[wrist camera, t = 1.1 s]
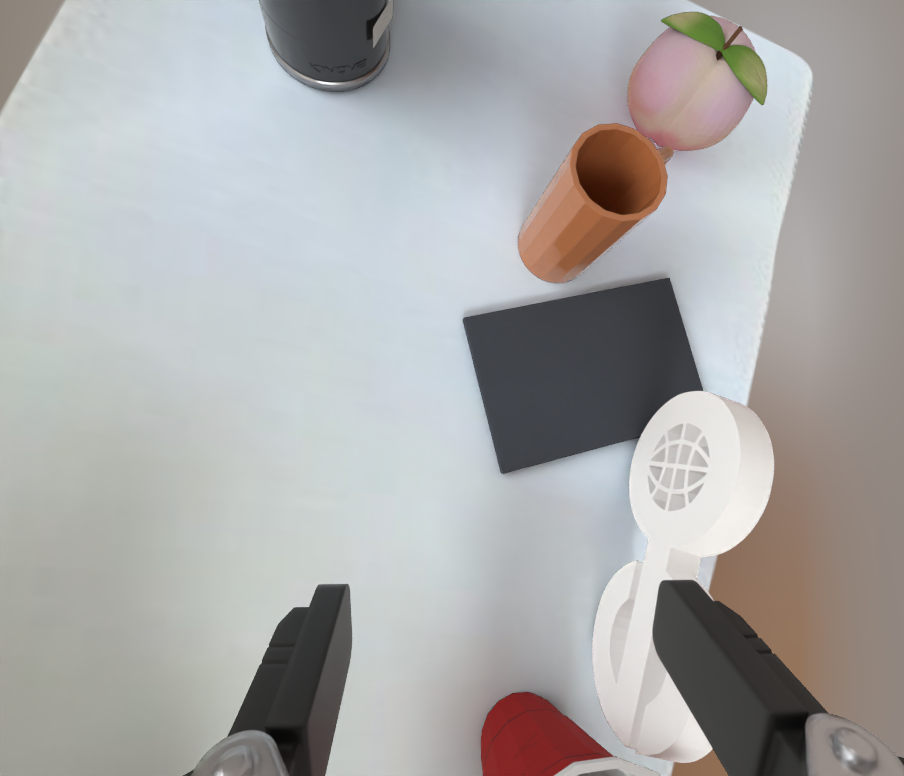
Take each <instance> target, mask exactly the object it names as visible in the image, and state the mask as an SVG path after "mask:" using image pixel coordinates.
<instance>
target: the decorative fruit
mask: <svg viewBox="0 0 904 776" xmlns="http://www.w3.org/2000/svg"><path fill="white" fill-rule="evenodd" d="M661 21H662V22H663V23H664V24H666V25H668V26H670V28H668V29H667V30H666V31H664V32H663V33H662V34H661V35H660V36H659V37H658V38H657V39H656V40H655V41H654V42H653V43H652V44H651V45H650V46H649V48H648V49H647V50H646V51H645V53H644V54H643V55H642V57H641V58H640V59H639V61H638V62H637V64H636V66H635V67H634V69H633V71H632V74H631V76H630V79H629V84H628V90H627V100H628V107H629V111H630V114H631V117H632V119H633V121H634V124H635V126H636V128H637V129H638V130H639V132H640V133H641V134H642V135H644V136H645V137H648V138H651V139H653V140H654V141H655V142H656V144H657V145H658V146H660V147H665V146H670V147H672V149H673V150H678V151H691V150H699V149H704V148H707V147H710V146H712V145H715V144H716V143H718V142H720V141H721V140H723V139H724V138H725V137H727V136H728V135H729V134H730V133H731V132H732V131H733V130H734V128H735V127H736V126H737V125H738V124H739V122H740V121H741V119H742V118H743V117H744V115H745V113H746V112H747V110H748V108H749V107H750V104H751V102H752V100H753V98H755V99H756V100H757V101H758V102H759V103H760V104H761V105H764V102H765V98H766V94H767V76H766V70H765V66H764V64H763V62H762V60H761V58H760V57H759V56H758V55H757V54H756V52H755V49H754V47H753V45H752V43H751V41H750V39H749V38H748V36H747V35H746V34H745V33H744V32H743V29H742V27H741V26H739V27H738V26H737V25H735V24H734V23H732V22H730V21H728V20H726V19H723V18H720V17H715V16H708V15H706V14H704V13H700V12H683V13H678V14H674V15H671V16H668V17H666V18H664V19H662V20H661Z"/></svg>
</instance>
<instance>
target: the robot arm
mask: <svg viewBox="0 0 904 776" xmlns="http://www.w3.org/2000/svg"><path fill="white" fill-rule="evenodd" d="M259 3H260V7H261V10H262V14H263V18H264V21H265V27H266V34H267V37H268V41H269V45H270V48H271V50H272V53H273V55H274V57H275V58H276V60H277V61H278V63H279V64H280V65H281V67H282V68H283V69H284V70H285V71H286V72H287V73H289V74H290V75H291V76H292V77H294V78H295V79H297V80H298V81H300V82H302V83H304V84H306V85H308V86H310V87H313V88H316V89H320V90H325V91H347V90H352V89H356V88H359V87H361V86H363V85H365V84H367V83H369V82H370V81H371V80H373V79H374V78H375V77H376V76H377V75H378V74H379V73H380V72H381V70H382V69H383V67H384V66H385V64H386V61H387V58H388V55H389V43H390V34H389V27H388V26H389V22H390V21H391V19H392V17H393V0H390V1H389V0H259ZM652 636H653V642H654V646H655V650H656V652H657V655H658V657H659V659H660V660H661V662H662V664H663V665H664V667H665V669H666V670H667V672H668V674H669V675H670V677H671V679H672V681H673V682H674V684H675V686H676V687H677V689H678V691H679V692H680V694H681V696H682V697H683V699H684V701H685V703H686V704H687V706H688V708H689V709H690V711H691V713H692V714H693V716H694V718H695V719H696V721H697V723H698V725H699V726H700V728H701V730H702V731H703V733H704V735H705V736H706V738H707V740H708V741H709V743H710V745H711V747H712V748H713V750H714V751H715V753H716V755H717V757H718V758H719V760H720V762H721V763H722V765H723V767H724V768H725V770H726V772H727V774H728V775H729V776H904V758H902V757H898V756H896V754H895V753H894V752H893V751H892V750H891V749H890V748H889V747H888V746H887V745H886V744H885V743H884V742H883V741H882V740H880V739H879V738H878V737H876V736H875V735H874V734H872V733H871V732H869V731H868V730H866V729H865V728H863V727H861V726H860V725H858V724H856V723H854V722H852V721H850V720H848V719H845V718H843V717H840V716H836V715H833V714H829V713H828V712H827V711H826V710H825V709H824V708H823V707H822V706H821V704H820V703H819V702H818V701H817V700H816V699H815V698H814V697H813V696H812V695H811V693H810V692H809V691H808V690H807V689H806V688H805V687H804V686H803V685H802V684H801V682H800V681H799V680H798V679H797V678H796V677H795V676H794V675H793V674H792V672H791V671H790V670H789V669H788V668H787V667H786V666H785V665H784V664H783V663H782V661H781V660H780V659H779V658H778V657H777V656H776V655H775V654H772V652H771V649H770V648H769V647H768V646H767V645H766V644H765V643H764V641H763V640H762V639H761V638H758V636H757V634H756V633H755V631H754V630H753V629H752V628H751V627H750V626H749V625H748V624H747V623H746V621H745V620H744V619H743V618H742V617H741V616H740V615H738V614H737V613H735V612H734V611H732V610H731V609H729V608H728V607H727V606H725V605H724V604H722V603H721V602H719V601H713V600H712V599H711V598H710V597H709V595H708V594H707V593H706V592H705V591H704V590H703V589H702V587H701V586H700V585H699V584H698V583H697V582H696V581H694V580H663V581H661V583H660V585H659V589H658V595H657V602H656V608H655V615H654V621H653V628H652ZM351 649H352V622H351V603H350V588H349V585H348V584H320V585H318V586H317V588H316V590H315V593H314V596H313V598H312V601H311V604H310V606H309V607H296V608H293V609H292V610H291V611H290V612H289V613H288V614H287V615H286V617H285V618H284V619H283V620H282V621H281V622H280V623H279V624H278V626H277V628H276V630H275V632H274V634H273V637H272V639H271V641H270V643H269V648H267V650H266V652H265V655H264V657H263V659H262V664H260V666H259V668H258V670H257V672H256V675H255V677H254V679H253V681H252V684H251V686H250V688H249V690H248V693H247V695H246V697H245V699H244V702H243V704H242V706H241V708H240V710H239V713H238V715H237V717H236V719H235V722H234V724H233V726H232V728H231V730H230V732H229V734H228V736H227V738H225V739H223V740H222V741H220V742H219V743H217V744H216V745H215V746H214V747H212V748H211V749H210V750H209V751H208V752H207V753H206V754H205V755H204V756H203V758H202V759H201V760H200V762H199V763H198V764H197V766H196V768H195V769H194V770H193V771H191V772H189V773H187V774H185V775H183V776H325V774H326V769H327V765H328V760H329V755H330V751H331V746H332V742H333V737H334V733H335V728H336V723H337V719H338V714H339V710H340V705H341V700H342V696H343V691H344V687H345V682H346V677H347V673H348V668H349V663H350V658H351Z"/></svg>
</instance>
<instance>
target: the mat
mask: <svg viewBox="0 0 904 776" xmlns="http://www.w3.org/2000/svg"><path fill="white" fill-rule="evenodd" d="M463 323H464V327H465V331H466V335H467V339H468V343H469V347H470V351H471V355H472V359H473V363H474V367H475V371H476V375H477V379H478V383H479V387H480V391H481V395H482V399H483V403H484V407H485V411H486V415H487V419H488V423H489V427H490V431H491V435H492V439H493V443H494V447H495V451H496V455H497V459H498V463H499V467H500V471H501V473H503V474H504V473H508V472H511V471H515V470H519V469H522V468H526V467H530V466H533V465H537V464H541V463H545V462H548V461H552V460H556V459H559V458H563V457H567V456H571V455H574V454H578V453H582V452H585V451H589V450H593V449H597V448H600V447H604V446H608V445H611V444H615V443H619V442H623V441H626V440H630V439H634V438H637V437H641V434H642V433H643V431H644V429H645V427H646V426H647V424H648V423H649V421H650V420H651V418H652V417H653V416H654V415H655V413H656V412H657V411H658V410H659V409H660V408H661V407H662V406H663V405H664V404H665V403H667V402H668V401H669V400H671V399H672V398H674V397H676V396H677V395H679V394H682V393H686V392H691V391H703V388H702V385H701V382H700V378H699V375H698V372H697V368H696V365H695V362H694V358H693V355H692V352H691V348H690V345H689V342H688V338H687V335H686V332H685V328H684V325H683V322H682V318H681V315H680V312H679V308H678V305H677V302H676V298H675V295H674V292H673V288H672V285H671V281H670V278H666V279H660V280H655V281H650V282H645V283H640V284H635V285H630V286H625V287H619V288H614V289H609V290H604V291H599V292H594V293H589V294H584V295H578V296H573V297H568V298H563V299H558V300H553V301H548V302H543V303H537V304H532V305H527V306H522V307H517V308H512V309H507V310H502V311H496V312H491V313H486V314H481V315H476V316H471V317H466V318H464V319H463Z"/></svg>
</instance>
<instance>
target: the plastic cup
mask: <svg viewBox="0 0 904 776" xmlns="http://www.w3.org/2000/svg"><path fill="white" fill-rule="evenodd" d="M481 761H482V770H483V776H661V775H660V774H659V773H657V772H654V771H652V770H649V769H647V768H644V767H641V766H639V765H636V764H633V763H631V762H628V761H625V760H622V759H620V758H617V757H615V756H613V755H611V754H610V753H609V752H608V751H607V750H605V749H604V748H603V747H602V746H601V745H600V744H598V743H597V742H596V741H595V740H594V739H593V738H591V737H590V736H589V735H588V734H587V733H586V732H584V731H583V730H582V729H581V728H580V727H579V726H577V725H576V724H575V723H574V722H573V721H572V720H571V719H569V718H568V717H567V716H565V715H562V714H561V713H560V712H559V711H558V710H557V709H556V708H555V707H554V706H553V705H552V704H551V703H550V702H549V701H548V700H546V699H543V698H542V697H540V696H537V695H535V694H532V693H529V692H522V693H512V694H511V695H509V696H507V697H505V698H503V699H501V700H500V701H498V702H497V704H496V705H495V706H494V707H493V709H492V710H491V711H490V712H489V713H488V715H487V718H486V721H485V723H484V726H483V729H482V736H481Z"/></svg>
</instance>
